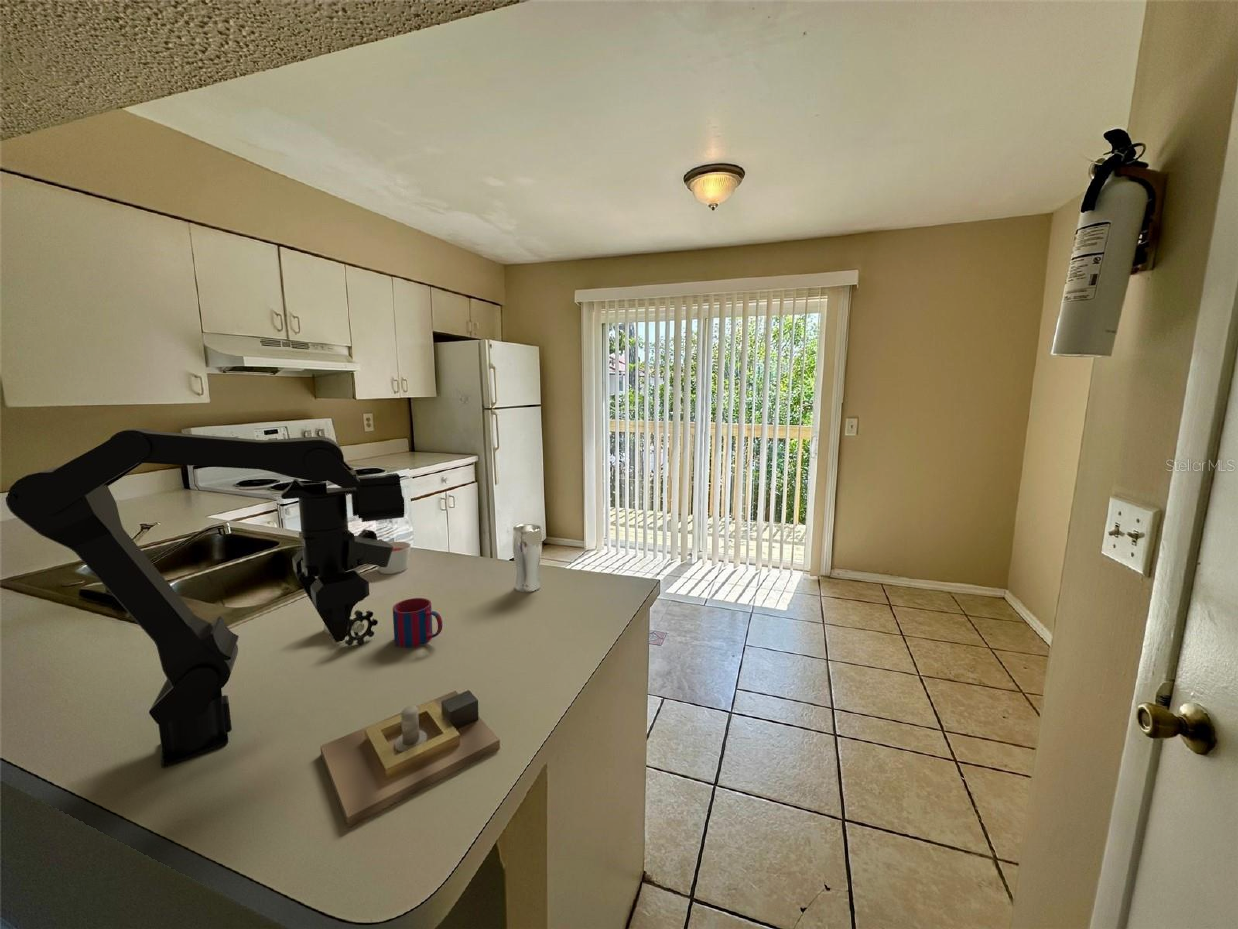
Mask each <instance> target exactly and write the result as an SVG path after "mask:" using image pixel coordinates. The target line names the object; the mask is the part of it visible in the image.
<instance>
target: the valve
mask: <svg viewBox="0 0 1238 929" xmlns="http://www.w3.org/2000/svg"><path fill="white" fill-rule="evenodd" d="M365 613H366V614H365V615H364V613H363V611H361V610H359V609H357V610H355V611H354V613H353V615H354V616H355V617H353V616H352V615H351V616H350V620H349V624H348V628H347V632H346V636H345V638H348V639H345V640H344V644H345V645H347V646H348V647H349V646H352V645H354V642H355V641H356V642H355V644H357V645H358V646H362V645H364V643H365V638H366V637H368V638H372V637H374V636H375V631H373V630H372V628H373V627H375V626H377V625H378V623H379V621H378V620H377V619H376V618H372V617H373V616H374V612H373V611H371V610H366V611H365ZM364 621H366V623H367V627H366V630H365V624H364V623H363V622H364ZM323 631H324V632H325V633H326V634H328V635H331V634H330V632H329V630H328V628H327V627H326V625H325V623H324V622H323ZM363 631H364V632H363ZM352 632H353V634H352ZM359 633H362V634H359Z"/></svg>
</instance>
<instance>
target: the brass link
mask: <svg viewBox="0 0 1238 929" xmlns="http://www.w3.org/2000/svg"><path fill="white" fill-rule="evenodd" d="M426 703H427V702H426ZM421 705H422V704H421ZM416 707H417V706H416ZM417 708H418V720H419V724H420V723H422V722H425V721H428V722H429V724H430V725H431V726H432V728H433V729H434V730H435V732H436V733H437V735H438V736H437V737H435V738H433V739H431V740H428V741H426V742H424V743H422V744H420V745H418V746H415V747H413V748H411V749H409V750H407V751H404V752H402V753H400V754H398V755H396V756H395V755H394V753H393V751H392V749H391V748H390V746H389V744H388V742H387V741H386V739H385V738H388V737H390V736H392V735H394V734H397V733H399V732H401V731H402V719H401V714H400V713H399V714H400V715H398V716H395V715H394V716H395V717H393V718H391V719H388V720H386V721H383V720H382V721H383V722H381V723H378V722H377V723H378V724H376V725H373V724H372V725H373V726H371V727H369V728H366V727H365V728H366V729H365V739H366V741H367V743H368V745H369V747H370V749H371V751H372V753H373V755H374V757H375V759H376V761H377V763H378V765H379V767H380V769H381V771H382V773H383V775H384V777H385V779H386V781H387V780H389V779H391V778H393V777H395V776H397V775H399V774H401V773H403V772H405V771H407V770H409V769H411V768H413V767H415V766H418V765H420V764H422V763H424V762H426V761H428V760H430V759H432V758H434V757H436V756H438V755H440V754H442V753H444V752H446V751H448V750H450V749H452V748H454V747H457V746H459V745H460V734H459V733H458V731H457V729H460V728H462V727H464V726H466V725H468V724H470V723H472V722H475V721H477V720H479V717H480V716H479V700H478V698H477V697H476V696H475V695H474V694H473V693H472V692H471V690H468V689H467V690H466V691H463V692H461V693H458V695H456V696H453V697H451V698H448V699H446V700H443V701H441V708H442V711H441V710H440V709H439V707H438V706H437V705H436V704H435V702H434V701H432V702H430V703H427V704H425V705H422V706H420V707H417Z"/></svg>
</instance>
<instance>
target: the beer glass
mask: <svg viewBox="0 0 1238 929" xmlns="http://www.w3.org/2000/svg"><path fill="white" fill-rule="evenodd" d="M512 529H513V531H512V554H513V560H514V566H515V571H516V578H515V584H514V589H515V590H516V591H517V592H519V593H520V592H521V593H533V592H536V591H538V590H540V589H541V580H540V576H539V573H540V572H539V571H540V564H541V558H542V552H543V539H542V538H543V537H542V536H543V535H542V527H541V525H538V524H533V523H527V524H518V525H516V526H514V527H513V528H512ZM537 589H538V590H537ZM535 590H536V591H535ZM532 591H533V592H532Z"/></svg>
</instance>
